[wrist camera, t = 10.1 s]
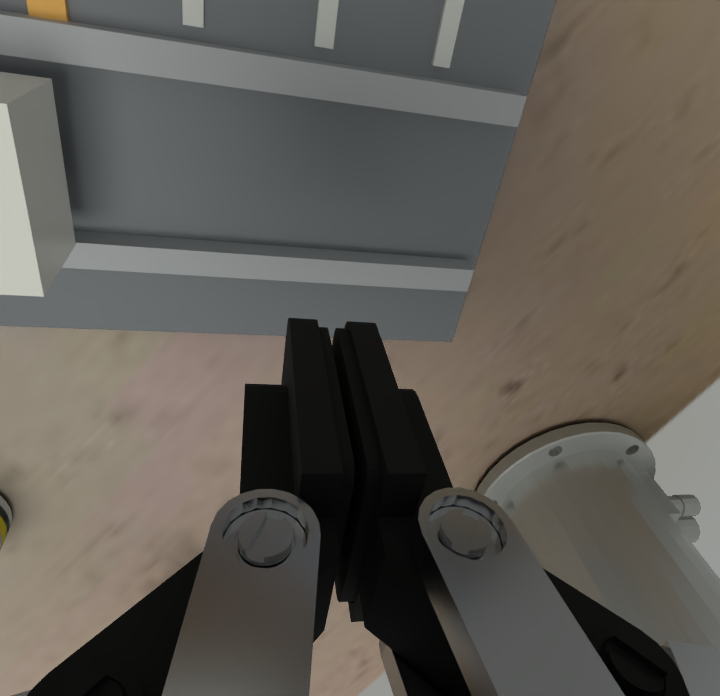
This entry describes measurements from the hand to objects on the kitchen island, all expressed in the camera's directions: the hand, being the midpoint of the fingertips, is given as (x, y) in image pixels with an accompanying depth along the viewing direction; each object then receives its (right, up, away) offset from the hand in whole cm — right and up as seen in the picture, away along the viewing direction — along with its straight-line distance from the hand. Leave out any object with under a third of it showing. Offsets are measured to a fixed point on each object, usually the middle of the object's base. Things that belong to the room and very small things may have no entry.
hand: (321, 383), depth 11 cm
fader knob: (-10, +7, +7) cm, 14 cm away
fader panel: (-5, +8, +10) cm, 14 cm away
